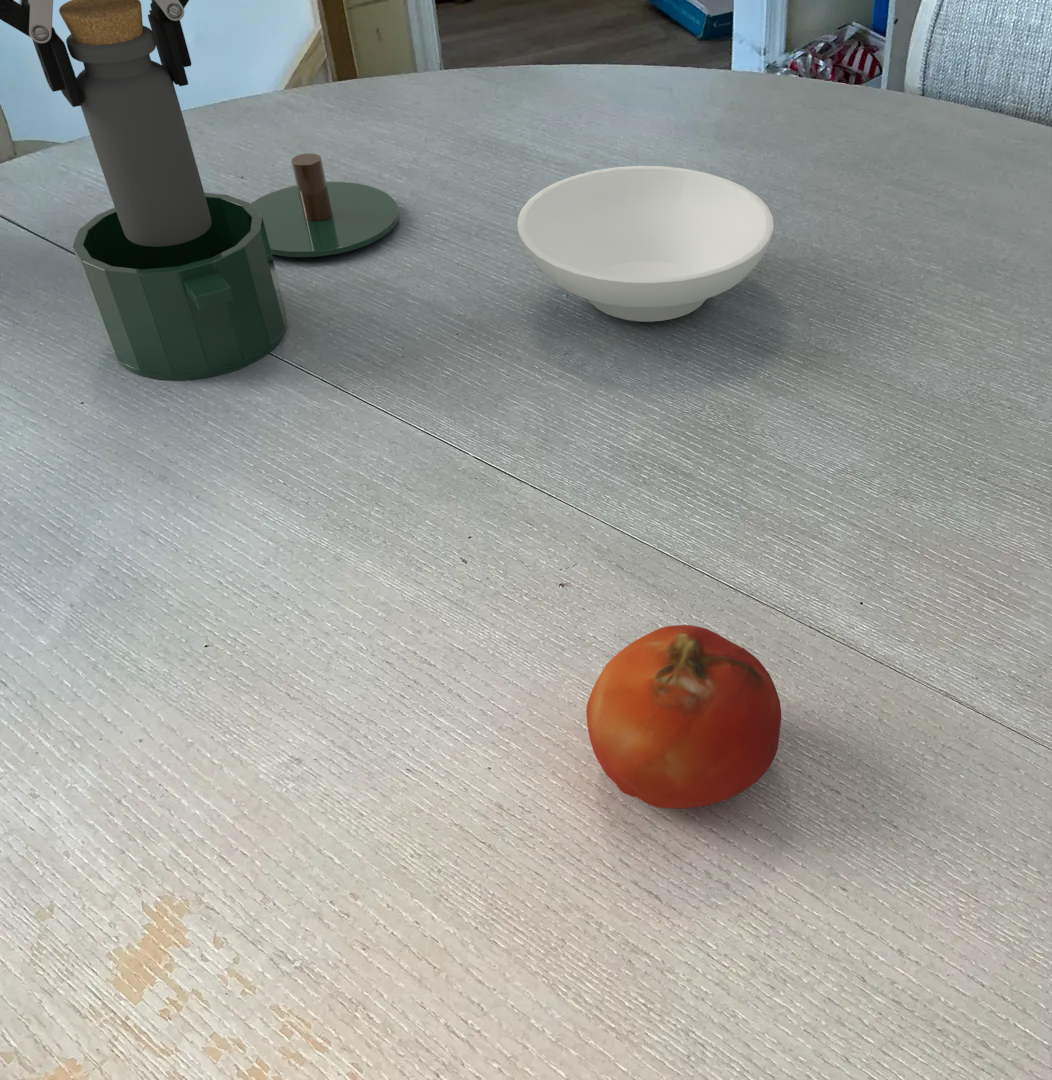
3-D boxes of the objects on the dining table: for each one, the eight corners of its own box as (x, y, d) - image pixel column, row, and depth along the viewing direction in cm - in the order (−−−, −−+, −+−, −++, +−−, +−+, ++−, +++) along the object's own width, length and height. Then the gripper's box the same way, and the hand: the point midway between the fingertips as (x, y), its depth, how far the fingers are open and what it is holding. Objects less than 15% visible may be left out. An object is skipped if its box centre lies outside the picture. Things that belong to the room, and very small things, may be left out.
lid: (272, 279, 95) (254, 208, 91) (218, 216, 103) (199, 149, 99) (425, 237, 101) (415, 169, 97) (362, 180, 109) (350, 115, 105)
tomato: (553, 783, 58) (541, 674, 53) (661, 670, 64) (660, 562, 59) (707, 876, 55) (711, 769, 49) (808, 747, 60) (820, 639, 55)
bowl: (482, 337, 89) (472, 255, 85) (580, 226, 103) (576, 151, 99) (728, 385, 85) (731, 301, 81) (795, 262, 99) (801, 185, 95)
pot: (151, 418, 81) (112, 309, 75) (84, 307, 91) (45, 204, 86) (325, 363, 86) (301, 257, 80) (242, 264, 97) (216, 165, 91)
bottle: (106, 241, 81) (27, 14, 71) (156, 205, 86) (88, -14, 76) (182, 252, 80) (112, 24, 70) (228, 215, 85) (169, -5, 75)
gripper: (163, -260, 71) (238, 48, 83) (-166, -239, 63) (-32, 97, 75) (204, -242, 66) (276, 81, 78) (-146, -217, 58) (-6, 138, 70)
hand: (125, 86), depth 76 cm, fingers closed on bottle, 5 cm apart
